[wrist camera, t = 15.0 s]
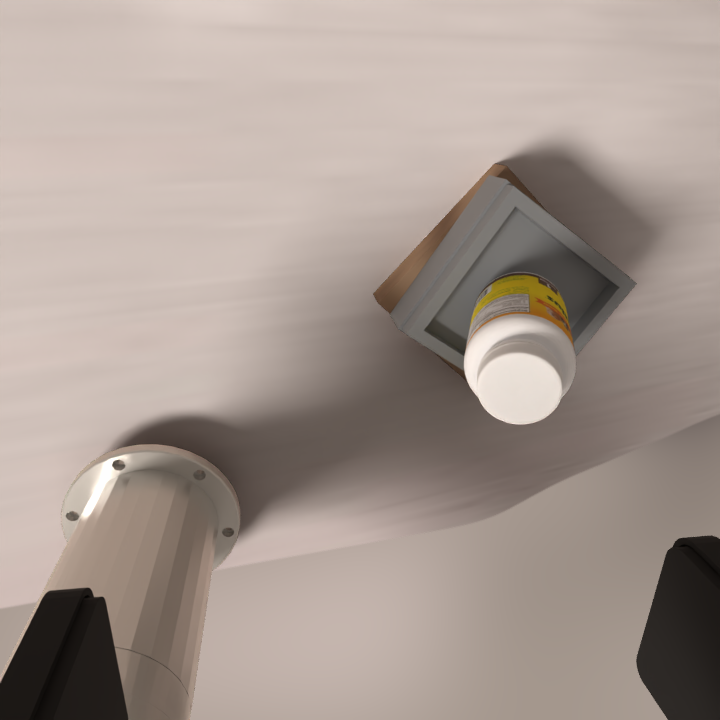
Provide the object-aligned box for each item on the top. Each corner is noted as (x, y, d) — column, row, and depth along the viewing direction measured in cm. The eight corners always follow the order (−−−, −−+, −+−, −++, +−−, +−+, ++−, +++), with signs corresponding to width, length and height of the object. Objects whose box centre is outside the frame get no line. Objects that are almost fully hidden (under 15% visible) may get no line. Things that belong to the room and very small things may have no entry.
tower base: (478, 385, 45) (491, 402, 42) (371, 291, 41) (378, 303, 38) (591, 275, 43) (613, 286, 40) (490, 163, 38) (506, 166, 36)
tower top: (507, 388, 42) (529, 415, 38) (389, 314, 39) (401, 335, 35) (606, 266, 39) (641, 282, 35) (488, 174, 36) (513, 181, 32)
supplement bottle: (572, 342, 35) (590, 432, 26) (484, 357, 37) (473, 446, 28) (557, 258, 33) (571, 326, 24) (464, 278, 35) (446, 348, 26)
